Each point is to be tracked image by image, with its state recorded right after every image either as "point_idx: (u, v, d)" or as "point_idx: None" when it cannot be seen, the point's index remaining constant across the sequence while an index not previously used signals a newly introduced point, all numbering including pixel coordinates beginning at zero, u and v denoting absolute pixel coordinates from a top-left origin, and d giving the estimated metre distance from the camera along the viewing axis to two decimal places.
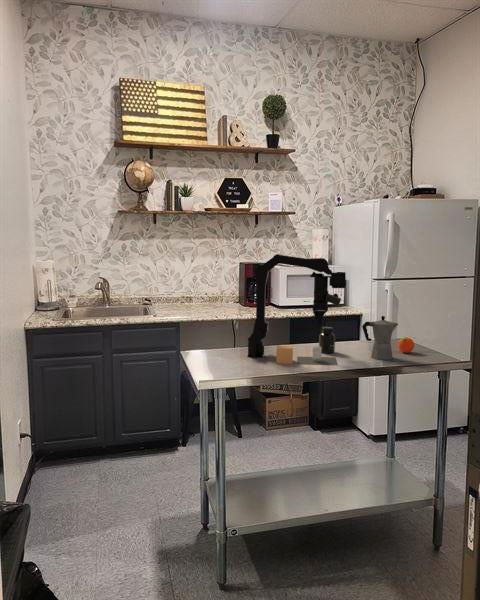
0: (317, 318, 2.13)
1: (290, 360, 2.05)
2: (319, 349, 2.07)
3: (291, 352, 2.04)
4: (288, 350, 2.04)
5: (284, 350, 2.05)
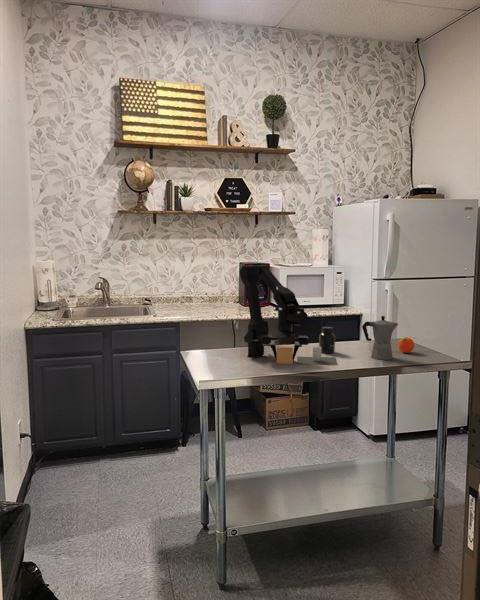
0: None
1: (290, 360, 2.05)
2: (319, 349, 2.07)
3: (291, 352, 2.04)
4: (288, 350, 2.04)
5: (284, 350, 2.05)
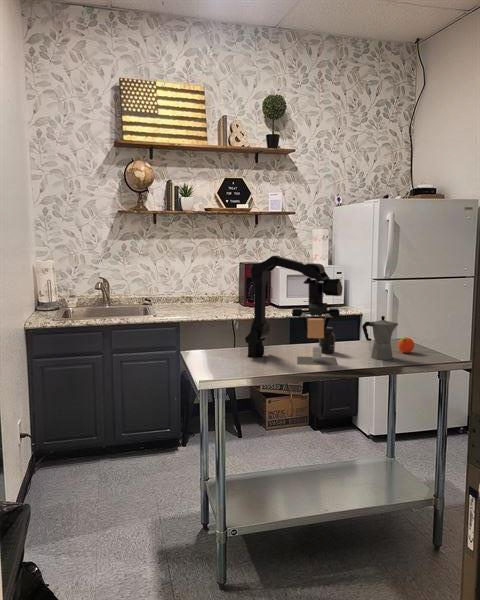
0: None
1: (321, 332, 2.05)
2: (319, 349, 2.07)
3: (322, 324, 2.04)
4: (319, 322, 2.04)
5: (315, 322, 2.04)
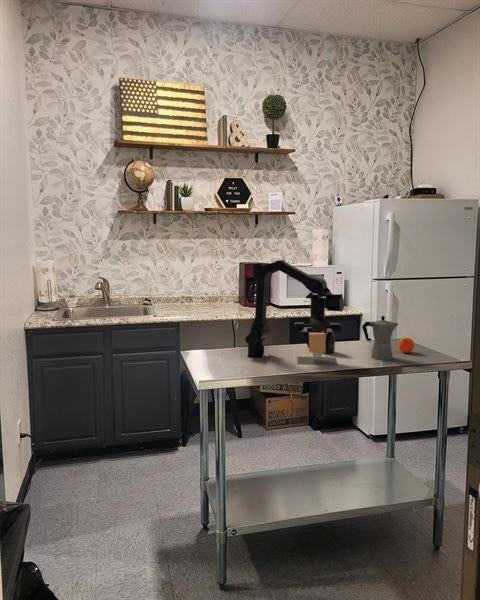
0: None
1: (323, 347, 2.06)
2: None
3: (324, 339, 2.05)
4: (321, 337, 2.05)
5: (317, 337, 2.05)
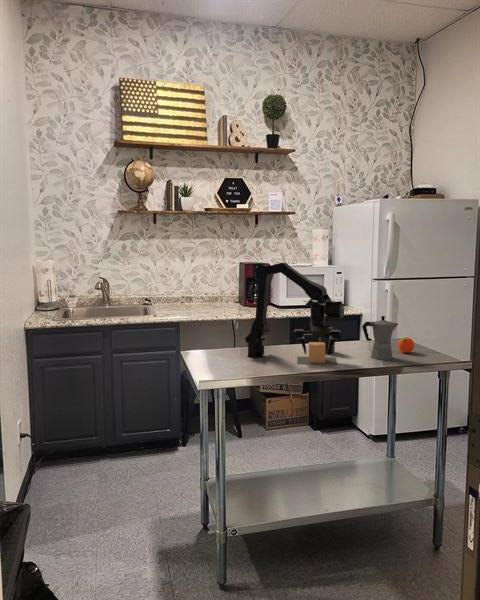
0: None
1: (323, 357, 2.06)
2: None
3: (324, 349, 2.06)
4: (321, 347, 2.06)
5: (317, 347, 2.06)
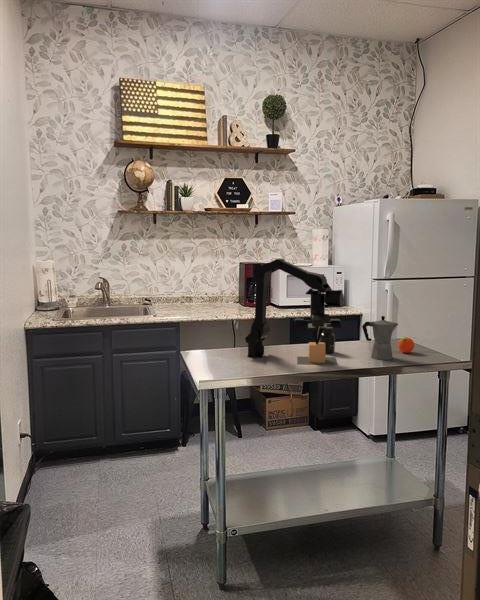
0: None
1: (323, 357, 2.06)
2: None
3: (324, 349, 2.06)
4: (321, 347, 2.06)
5: (317, 347, 2.06)
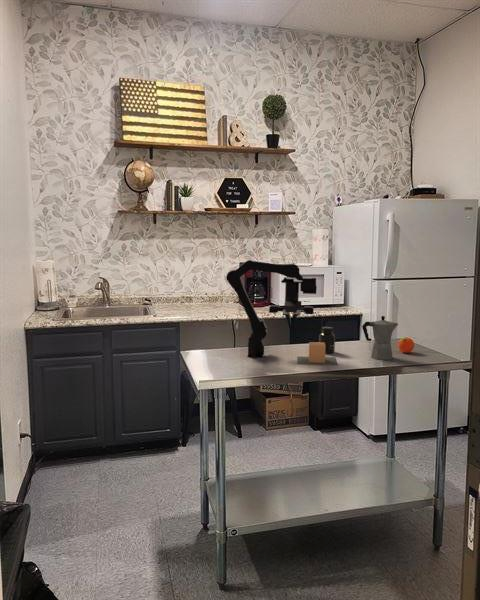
0: None
1: (323, 357, 2.06)
2: None
3: (324, 349, 2.06)
4: (321, 347, 2.06)
5: (317, 347, 2.06)
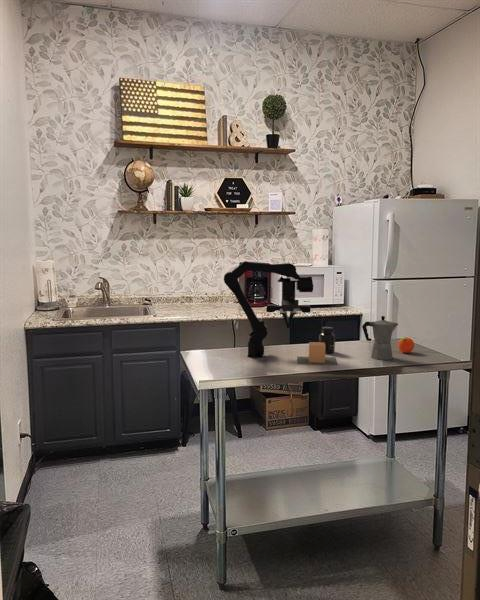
0: None
1: (323, 357, 2.06)
2: None
3: (324, 349, 2.06)
4: (321, 347, 2.06)
5: (317, 347, 2.06)
